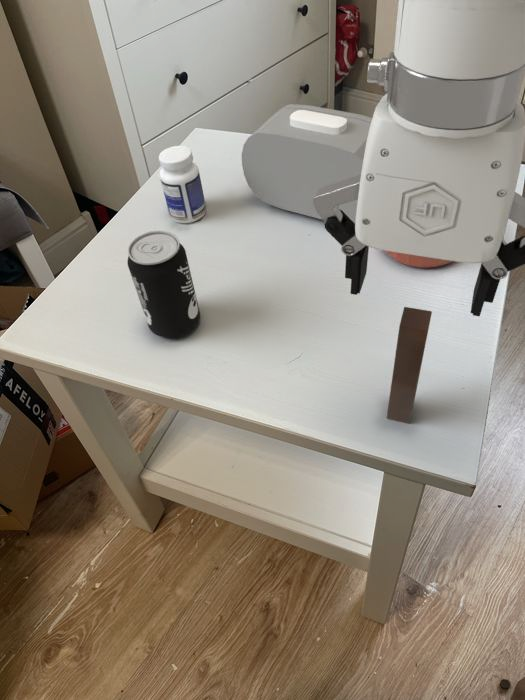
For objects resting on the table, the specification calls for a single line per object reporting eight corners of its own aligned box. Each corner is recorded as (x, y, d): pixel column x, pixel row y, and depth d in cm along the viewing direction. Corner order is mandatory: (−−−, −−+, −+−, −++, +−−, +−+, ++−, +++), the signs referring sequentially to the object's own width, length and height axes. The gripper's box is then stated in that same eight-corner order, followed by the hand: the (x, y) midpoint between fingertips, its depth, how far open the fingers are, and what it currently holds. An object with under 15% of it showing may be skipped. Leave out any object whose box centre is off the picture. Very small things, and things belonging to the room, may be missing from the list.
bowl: (468, 224, 79) (476, 190, 75) (459, 276, 72) (468, 241, 68) (388, 214, 82) (391, 181, 78) (372, 263, 75) (375, 229, 71)
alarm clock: (397, 201, 84) (406, 113, 74) (371, 237, 79) (378, 147, 69) (276, 172, 92) (271, 89, 82) (246, 203, 87) (236, 119, 77)
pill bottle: (201, 199, 89) (190, 139, 81) (211, 218, 85) (200, 158, 78) (166, 208, 88) (151, 149, 80) (174, 228, 84) (159, 168, 77)
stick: (413, 405, 60) (432, 310, 49) (409, 424, 58) (428, 330, 48) (390, 400, 60) (404, 306, 50) (386, 418, 59) (399, 325, 48)
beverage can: (189, 346, 68) (168, 269, 59) (140, 336, 70) (113, 261, 61) (208, 308, 72) (192, 231, 63) (162, 300, 74) (139, 224, 65)
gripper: (298, 101, 34) (302, 305, 47) (617, 129, 29) (525, 347, 42) (329, 51, 39) (325, 249, 51) (609, 68, 34) (528, 281, 47)
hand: (415, 293), depth 47 cm, fingers open, 9 cm apart
